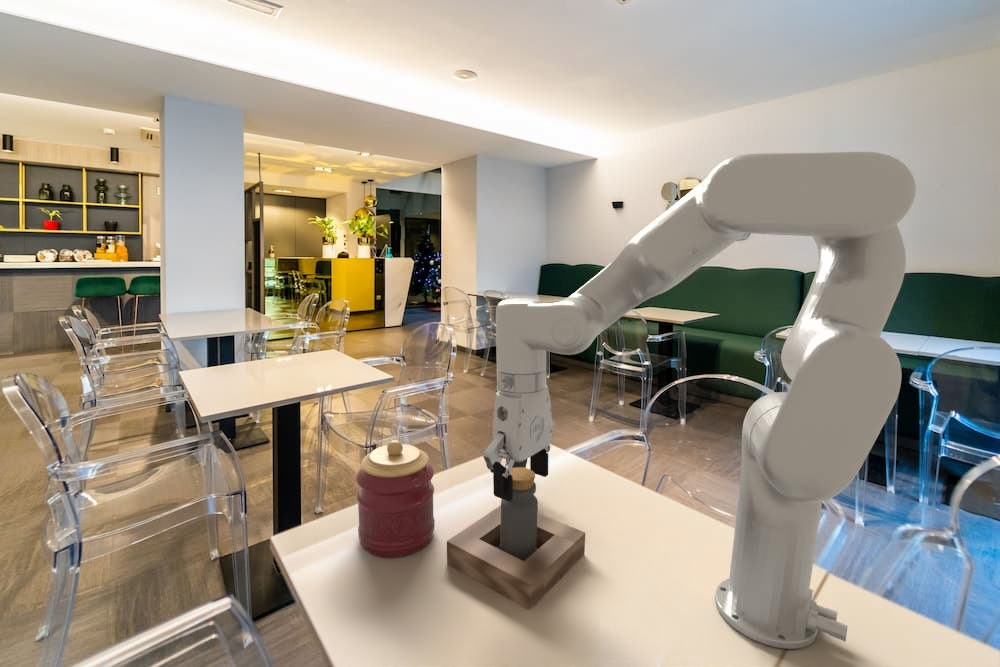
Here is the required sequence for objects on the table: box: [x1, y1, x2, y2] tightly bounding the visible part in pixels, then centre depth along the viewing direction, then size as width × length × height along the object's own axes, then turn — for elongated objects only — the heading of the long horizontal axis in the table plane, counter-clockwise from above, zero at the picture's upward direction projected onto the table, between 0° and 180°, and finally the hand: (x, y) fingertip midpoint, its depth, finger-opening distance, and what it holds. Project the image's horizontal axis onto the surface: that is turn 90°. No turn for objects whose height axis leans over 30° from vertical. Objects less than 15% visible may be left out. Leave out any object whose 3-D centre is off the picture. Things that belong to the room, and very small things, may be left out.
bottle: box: [499, 467, 539, 561], centre depth 78 cm, size 6×6×15 cm
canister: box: [355, 439, 436, 558], centre depth 84 cm, size 13×13×18 cm
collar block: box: [446, 504, 586, 611], centre depth 79 cm, size 16×16×4 cm
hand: (522, 485), depth 77 cm, fingers open, 9 cm apart
